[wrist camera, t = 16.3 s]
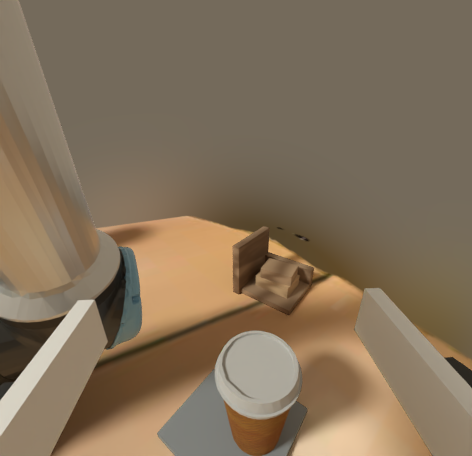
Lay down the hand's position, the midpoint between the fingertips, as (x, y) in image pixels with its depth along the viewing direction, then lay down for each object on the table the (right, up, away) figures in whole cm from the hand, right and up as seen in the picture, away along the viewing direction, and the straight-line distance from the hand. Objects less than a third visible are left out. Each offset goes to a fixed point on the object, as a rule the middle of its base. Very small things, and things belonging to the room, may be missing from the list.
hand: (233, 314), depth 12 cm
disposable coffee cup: (+3, -21, +19) cm, 29 cm away
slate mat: (0, -22, +20) cm, 30 cm away
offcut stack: (+10, -9, +45) cm, 47 cm away
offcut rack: (+9, -10, +46) cm, 48 cm away
